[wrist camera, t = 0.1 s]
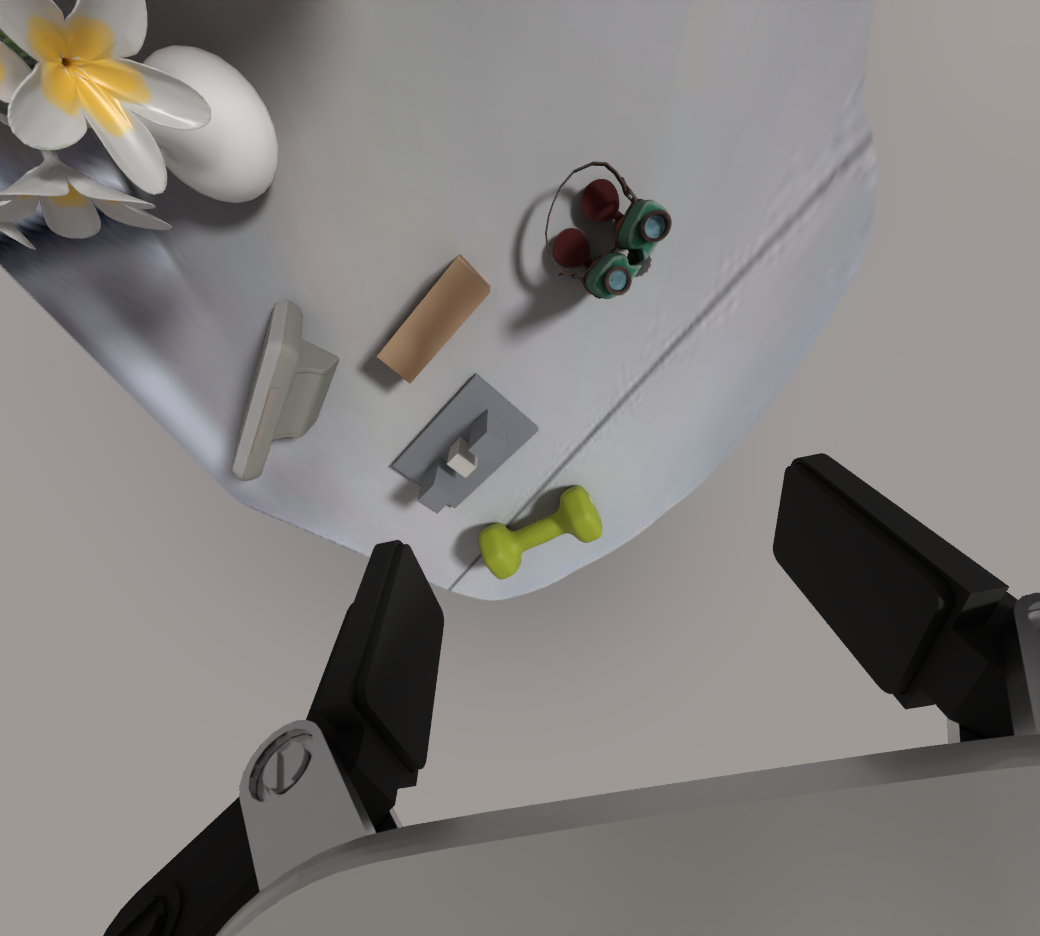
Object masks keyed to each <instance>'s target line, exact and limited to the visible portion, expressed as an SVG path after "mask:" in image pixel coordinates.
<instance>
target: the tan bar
mask: <svg viewBox="0 0 1040 936" xmlns="http://www.w3.org/2000/svg"><path fill="white" fill-rule="evenodd" d="M489 293H490V284H489V283H488V282H487V281H486V280H485V279H484V278H483V277H482V276H481V275H480V274H479V273H478V272H477V271H476V270H475V269H474V268H473V267H472V266H471V265H470V264H469V263H468V262H467V261H466V260H465V259H464V258H463V257H462V256H461V255H459V256H458V257H457V258H456V259H455V260H454V261H453V263H452V264H451V265H450V266H449V268H448V269H447V270H446V271H445V273H444V274H443V275H442V276H441V278H440V279H439V280H438V281H437V283H436V284H435V285H434V286H433V287H432V289H431V290H430V291H429V292H428V294H427V295H426V296H425V297H424V299H423V300H422V301H421V302H420V304H419V305H418V306H417V307H416V309H415V310H414V311H413V312H412V313H411V315H410V316H409V317H408V318H407V320H406V321H405V322H404V323H403V325H402V326H401V327H400V328H399V330H398V331H397V332H396V333H395V335H394V336H393V337H392V338H391V340H390V341H389V342H388V343H387V344H386V346H385V347H384V348H383V349H382V351H381V352H380V353H379V354H378V356H377V357H378V358H379V359H380V360H381V361H383V362H384V363H385V364H386V365H387V366H389V367H390V368H391V369H392V370H394V371H395V372H396V373H397V374H399V375H400V376H401V377H402V378H404V379H405V380H406V381H407V382H409V383H411V382H412V381H413V380H414V379H415V378H416V376H417V375H418V374H419V373H420V372H421V371H422V370H423V368H424V367H425V366H426V365H427V364H428V363H429V362H430V360H431V359H432V358H433V357H434V356H435V355H436V354H437V352H438V351H439V350H440V349H441V348H442V347H443V346H444V344H445V343H446V342H447V341H448V340H449V339H450V338H451V336H452V335H453V334H454V333H455V332H456V331H457V330H458V328H459V327H460V326H461V325H462V324H463V323H464V322H465V320H466V319H467V318H468V317H469V316H470V315H471V314H472V312H473V311H474V310H475V309H476V308H477V307H478V306H479V304H480V303H481V302H482V301H483V300H484V299H485V298H486V296H487V295H488V294H489Z"/></svg>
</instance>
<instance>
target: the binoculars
mask: <svg viewBox="0 0 1040 936" xmlns="http://www.w3.org/2000/svg"><path fill="white" fill-rule="evenodd" d="M592 165H594V166H605V167H606V168H607V169H608V170H610V171H611V172H612V173H613V174H614V175H615V177H616V178H617V180H618V181H619V183H620V184H621V186H622V190H623V193H624V195H625V196H626V197H627V198H628V199H629V200H630V201H631V205H630V206H629V208H628V209H627V211H626V213H625V215H623V214H622V213H620V212H619V211H618V210H619V196H618V193H617V190H616V188H615V186H614V185H613V184H612V183H611V182H610V181H608V180H605V179H598V180H595V181H593V182H591V183H590V184H589V185H588V186H587V187H586V189H585V190H584V192H583V195H582V201H581V204H582V209H583V212H584V214H585V216H586V217H587V218H588V219H590V220H592V221H595V222H606V221H609V220H611V219H615V220H616V221H617V222H616V226H615V231H616V235H615V247H614V249H613V250H611V251H609V252H605V254H603V255H601V256H600V257H599V258H598V259H596V260H594V261H591V260H590V259H588V258H589V253H590V249H589V244H588V241H587V238H586V237H585V235H584V234H583V233H582V232H581V231H580V230H578V229H575V228H569V229H565V230H563V231H562V232H561V233H560V234H559V235H558V236H557V238H556V240H555V243H554V247H553V253H554V257H555V259H556V261H557V262H558V263H559V264H560V265H561V266H563V267H566V268H577V267H580V266H582V265H584V266H585V267H587V268H588V269H587V273H586V274H585V276H584V277H583V278H581V277H579V276H577V274H576V273H573V272H563V271H562V270H560V269H559V268H558V267H557V266H555V264H554V262H553V259H552V257H551V255H550V253H549V249H548V240H547V228H548V222H549V216H550V213H551V210H552V207H553V204H554V201H555V199H556V197H557V195H558V193H559V191H560V189H561V187H562V186H563V185H564V184H565V183H566V182H567V180H568V179H569V178H570V177H571V176H572V175H573V173H576V172H578V171H580V170H582V169H585V168H587V167H589V166H592ZM630 194H631V195H632V197H633V198H631V197H630V196H629V195H630ZM635 201H637V202H635ZM670 229H671V217H670V215H669V214H668V213H667V211H666V209H665V208H664V207H663V206H662V205H660V204H659V203H657V202H655V201H653V200H643V199H637V197H636V196H635V194H634V193H633V192H632V190H631V189H630V188H629V186H628V185H627V184H626V182H625V180H624V178H623V177H620V175H619V174H618V172H617V171H616V170H615V169H614V168H613V167H611V166H610V165H609V164H608V163H607V162H591V163H589V164H587V165H584V166H582V167H580V168H578V169H575V170H573V172H572V173H571V174H570V175H569V176H568V177H567V179H566V180H565V181H564V182H563V183H562V184H561V186H560V188H559V190H558V192H557V194H556V196H555V198H554V200H553V203H552V206H551V209H550V212H549V215H548V219H547V225H546V231H545V236H546V245H547V252H548V254H549V257H550V259H551V261H552V263H553V265H554V267H556V268H557V269H558V270H559V271H561V272H562V273H561V274H559V276H560V275H565V276H567V275H569V276H571V275H570V274H572V276H571V277H572V278H573V279H578V280H580V281H581V282H582V283H583V285H584V287H585V288H586V290H588V293H589V294H592V295H594V296H595V297H597V298H599V299H600V298H604V299H610V298H613V297H615V296H616V295H623V294H624V293H626V292H627V291H628V290H629V288H630V286H631V281H632V279H633V278H634V277H638V276H642V275H643V274H644V273H645V272H647V271H648V268H649V267H650V266H651V264H650V262H651V258H650V254H651V253H652V251H653V250H654V248H655V247H656V245H657V243H658V242H659V241H660V240H662V239H664V238H665V237H666V236H667V234H668V233H669V231H670ZM617 248H619V249H626V250H628V251H629V253H628V256H627V257H626V256H625V255H623V254H621V253H618V252H613V251H615V250H616V249H617Z"/></svg>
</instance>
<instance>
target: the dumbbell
mask: <svg viewBox="0 0 1040 936" xmlns="http://www.w3.org/2000/svg"><path fill="white" fill-rule="evenodd" d="M564 533H569V534H572V535H573V536H575V537H576V538H577V539H578V540H580V541H582V542H584V543H588V542H591V541H594V540H596V539H598V538H599V537H600V536H601V534H602V522H601V519H600V516H599V513H598V511H597V509H596V506H595V504H594V502H593V500H592V499H591V497H590V495H589V494H588V493H587V491H586V490H585V489H584V488H583V487H581V486H580V485H576V486H573V487H571V488H569V489H567V490H566V491H564V492H563V493H562V495H561V497H560V506H559V509H558V511H557V512H556V513H554V514H552V515H550V516H547V517H545V518H543V519H540V520H538V521H536V522H534V523H532V524H529V525H527V526H525V527H523V528H521V529H519V530H517V531H510V530H508V528H507V527H506V526H504V525H503V524H501V523H494V524H492V525H490V526H487V527H486V528H484V529H483V530H482V531H481V532H480V533H479V536H478V543H479V547H480V551H481V555H482V558H483V561H484V563H485V565H486V566H487V567H488V569H489V570H490V571H491V572H492V573H493V575H494V576H496V577H497V578H498V579H505V578H507V577H510V576H511V575H513V574H514V573H515V572H516V571H517V570H518V568H519V566H520V564H521V554H522V553H523V552H524V551H525V550H527V549H530V548H532V547H535V546H538V545H540V544H543V543H545V542H547V541H549V540H551V539H553V538H555V537H557V536H559V535H561V534H564Z"/></svg>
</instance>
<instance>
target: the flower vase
mask: <svg viewBox="0 0 1040 936" xmlns="http://www.w3.org/2000/svg"><path fill="white" fill-rule="evenodd" d="M146 31H147V9H146V2H145V0H77V1H76V5H75V7H74V9H73V10H72V12H71V13H70V14H69V15H68V16H67V17H66V19H65V21H64V16H63V13H62V11H61V10H60V9H59V7H58V6H57V5H56V4H55V3H54V2H53V0H0V121H1V122H3V123H4V124H6V125H8V126H9V127H10V128H11V130H12V133H14V134H15V135H16V136H17V137H18V138H19V139H20V140H21V141H22V142H23V143H24V144H26V145H28V146H30V147H32V148H36V149H40V151H41V153H42V155H43V158H44V161H43V163H42V164H41V165H40V166H38V167H35V168H34V169H32V170H30V171H28V172H27V173H26V174H25V175H23V176H22V177H21V178H20V179H19V180H18V181H16V182H15V183H14V184H13V185H12V186H11V187H9V188H7V189H5V190H2V191H0V231H1V232H3V233H5V234H7V235H8V236H10V237H11V238H13V239H15V240H17V241H18V242H19V243H22V244H23V245H25V246H27V247H29V248H30V249H34V250H36V249H35V247H34V246H33V245H32V244H31V243H30V242H29V241H28V240H27V239H26V237H25V236H24V235H23V234H22V233H21V232H20V231H19V230H18V229H17V228H16V227H15V226H14V225H13V224H12V223H11V221H16V220H20V219H23V218H26V217H28V216H30V215H32V214H33V213H34V212H35V211H36V209H37V205H38V202H39V199H40V204H41V207H42V212H43V215H44V218H45V221H46V223H47V225H48V226H49V228H50V229H51V230H52V231H53V232H55V233H56V234H58V235H61V236H64V237H67V238H72V239H73V238H81V239H83V238H88V237H91V236H93V235H95V234H97V233H98V232H99V230H100V228H101V221H100V218H99V215H98V213H97V211H96V209H95V207H94V205H93V203H94V204H95V205H96V206H97V207H98V208H99V209H100V210H101V211H102V212H103V213H104V214H105V215H107V216H108V217H110V218H112V219H114V220H116V221H119V222H122V223H125V224H127V225H132V226H135V227H141V228H147V229H156V230H169V229H171V228H172V226H171V225H170V224H168V223H166V222H165V221H163V220H161V219H159V218H157V217H155V216H153V215H151V214H149V213H148V212H146V211H144V210H142V209H152V208H155V207H156V206H155V205H153V204H151V203H148V202H145V201H143V200H140V199H137V198H135V197H132V196H129V195H127V194H124V193H122V192H119V191H117V190H114V189H112V188H110V187H107V186H105V185H103V184H101V183H99V182H97V181H95V180H94V179H92V178H90V177H88V176H86V175H84V174H82V173H80V172H79V171H76V170H74V169H72V168H70V167H68V166H67V165H65V164H63V163H62V162H61V161H60V160H59V158H58V156H57V154H56V152H55V150H59V149H62V148H66V147H69V146H71V145H73V144H75V143H77V142H78V141H79V140H80V139H81V138H82V137H83V136H84V135H85V133H86V131H87V128H93V130H94V131H95V133H96V134H97V136H98V137H99V139H100V140H101V141H102V143H103V145H104V147H105V148H106V150H107V151H108V152H109V154H110V155H111V157H112V159H113V160H114V161H115V162H116V164H117V165H118V166H119V168H120V169H121V170H122V171H123V172H124V173H125V175H126V176H127V177H128V178H129V179H130V180H131V181H132V182H133V183H134V184H135V185H137V186H138V187H139V188H140V189H142V190H144V191H146V192H147V193H149V194H153V195H156V194H160V193H163V191H164V190H165V189H166V185H167V170H166V167H167V168H168V169H169V170H170V171H171V172H172V173H173V174H174V175H175V176H176V177H177V178H179V179H180V180H181V181H182V182H183V183H185V184H186V185H188V186H189V187H191V188H193V189H194V190H196V191H197V192H199V193H201V194H202V195H205V196H207V197H210V198H213V199H216V200H218V201H221V202H231V203H242V202H246V201H250V200H254V199H255V198H257V197H258V196H260V195H261V194H263V193H264V192H265V191H266V190H267V189H268V187H269V186H270V184H271V183H272V182H273V180H274V177H275V174H276V170H277V167H278V153H279V147H278V141H277V136H276V131H275V127H274V125H273V122H272V120H271V117H270V115H269V112H268V110H267V108H266V106H265V104H264V103H263V101H262V100H261V98H260V96H259V95H258V93H257V92H256V90H255V89H254V87H253V86H252V85H251V84H250V83H249V82H248V81H247V80H246V78H245V77H244V76H243V75H242V74H241V73H240V72H239V71H238V70H237V69H235V68H234V67H233V66H231V65H230V64H229V63H227V62H226V61H225V60H223V59H222V58H221V57H219V56H217V55H215V54H213V53H210V52H208V51H206V50H203V49H201V48H198V47H192V46H183V45H172V46H169V47H165V48H161V49H157V50H156V51H155V52H154V53H152V54H151V55H150V56H149V57H147V58H146V59H145V60H144V62H143V64H142V63H138V62H135V61H132V60H129V59H124V58H125V57H130V56H133V55H136V54H137V53H138V52H139V51H140V49H141V48H142V46H143V43H144V40H145V37H146ZM165 166H166V167H165ZM92 202H93V203H92Z"/></svg>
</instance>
